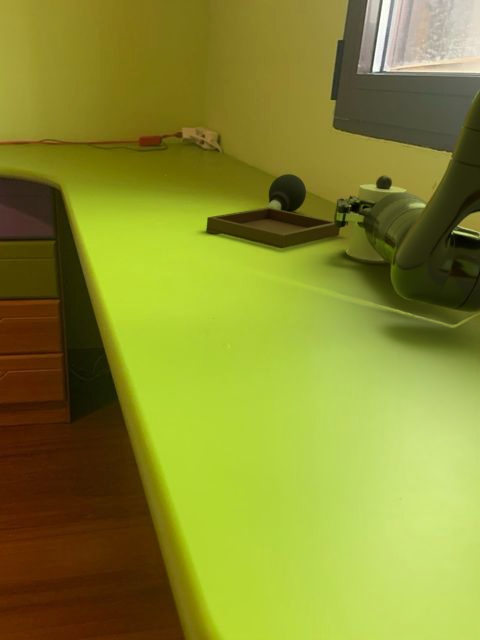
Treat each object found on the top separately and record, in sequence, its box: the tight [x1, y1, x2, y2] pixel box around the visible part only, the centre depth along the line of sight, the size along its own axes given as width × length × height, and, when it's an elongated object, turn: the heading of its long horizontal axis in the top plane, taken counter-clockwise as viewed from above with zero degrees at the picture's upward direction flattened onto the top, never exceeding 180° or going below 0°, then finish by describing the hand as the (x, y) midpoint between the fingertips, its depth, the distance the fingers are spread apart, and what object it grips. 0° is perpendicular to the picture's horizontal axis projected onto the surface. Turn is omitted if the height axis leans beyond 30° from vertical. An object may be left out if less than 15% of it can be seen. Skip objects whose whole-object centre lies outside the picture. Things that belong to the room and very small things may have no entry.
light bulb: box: [265, 173, 307, 213], centre depth 119 cm, size 6×6×10 cm
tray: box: [205, 207, 341, 249], centre depth 104 cm, size 16×14×2 cm
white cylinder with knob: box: [345, 174, 407, 262], centre depth 93 cm, size 7×7×11 cm
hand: (374, 205), depth 94 cm, fingers closed on white cylinder with knob, 6 cm apart
